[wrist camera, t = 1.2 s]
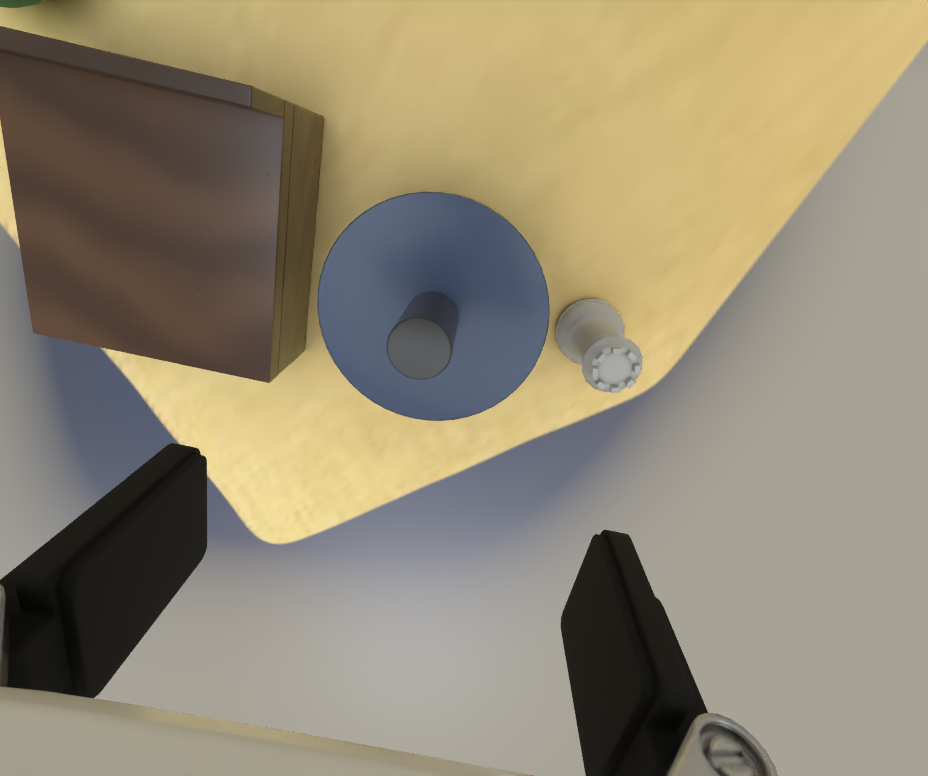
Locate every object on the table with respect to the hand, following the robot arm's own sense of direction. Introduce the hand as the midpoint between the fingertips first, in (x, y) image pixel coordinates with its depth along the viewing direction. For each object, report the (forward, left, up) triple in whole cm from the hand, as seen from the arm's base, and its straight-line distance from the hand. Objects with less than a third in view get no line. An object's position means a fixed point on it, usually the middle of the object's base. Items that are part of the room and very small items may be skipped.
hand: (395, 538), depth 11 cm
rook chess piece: (-1, +9, -23) cm, 25 cm away
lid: (-2, -1, -14) cm, 15 cm away
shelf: (-2, -17, -23) cm, 29 cm away
